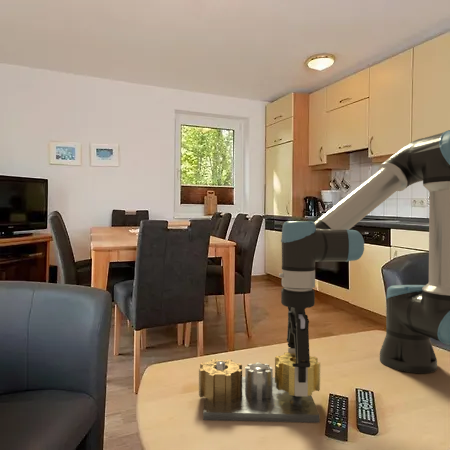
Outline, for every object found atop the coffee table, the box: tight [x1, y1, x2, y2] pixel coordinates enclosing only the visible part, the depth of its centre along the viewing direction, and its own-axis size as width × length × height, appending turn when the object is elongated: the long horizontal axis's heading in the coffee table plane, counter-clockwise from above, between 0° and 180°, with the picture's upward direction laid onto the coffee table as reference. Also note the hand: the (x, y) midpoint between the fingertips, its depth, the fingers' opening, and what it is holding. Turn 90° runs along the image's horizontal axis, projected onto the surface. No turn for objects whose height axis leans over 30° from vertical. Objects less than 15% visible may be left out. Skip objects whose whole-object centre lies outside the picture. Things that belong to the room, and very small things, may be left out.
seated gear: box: [198, 358, 243, 403], centre depth 87 cm, size 10×10×6 cm
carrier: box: [202, 361, 321, 424], centre depth 86 cm, size 24×18×9 cm
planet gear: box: [274, 351, 321, 396], centre depth 86 cm, size 10×10×6 cm
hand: (297, 384), depth 86 cm, fingers closed on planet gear, 10 cm apart
